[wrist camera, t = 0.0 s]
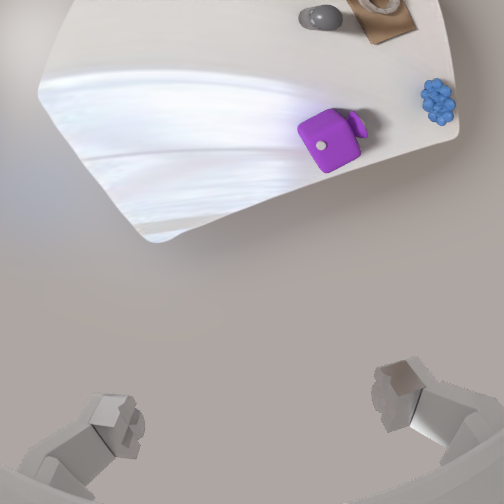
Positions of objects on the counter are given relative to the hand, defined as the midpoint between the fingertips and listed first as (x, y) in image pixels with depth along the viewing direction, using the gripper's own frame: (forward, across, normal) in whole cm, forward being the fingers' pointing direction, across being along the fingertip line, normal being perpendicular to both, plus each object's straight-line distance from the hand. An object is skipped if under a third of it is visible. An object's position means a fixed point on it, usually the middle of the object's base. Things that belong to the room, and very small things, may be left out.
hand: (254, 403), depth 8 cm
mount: (+39, -30, -43) cm, 65 cm away
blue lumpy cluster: (+50, -44, -23) cm, 70 cm away
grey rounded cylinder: (+42, -17, -36) cm, 58 cm away
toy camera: (+54, -20, -15) cm, 60 cm away
